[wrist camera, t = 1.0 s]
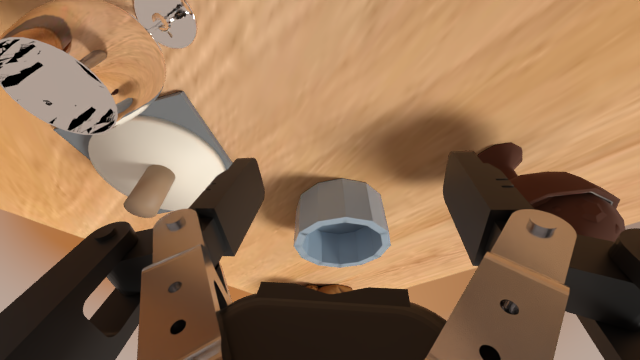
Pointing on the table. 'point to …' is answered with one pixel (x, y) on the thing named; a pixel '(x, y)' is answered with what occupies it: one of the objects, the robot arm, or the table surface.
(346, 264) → the bowl
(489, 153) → the ice cream bowl
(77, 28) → the wineglass
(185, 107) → the mat
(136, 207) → the lid
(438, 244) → the table surface
